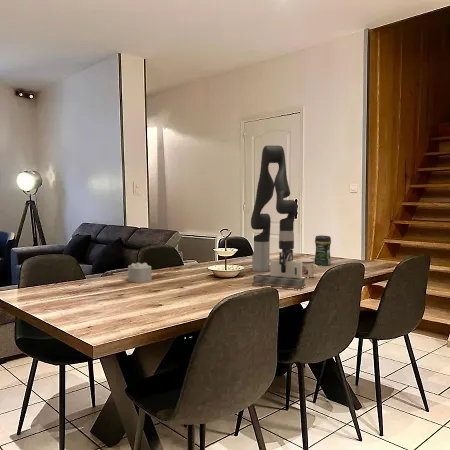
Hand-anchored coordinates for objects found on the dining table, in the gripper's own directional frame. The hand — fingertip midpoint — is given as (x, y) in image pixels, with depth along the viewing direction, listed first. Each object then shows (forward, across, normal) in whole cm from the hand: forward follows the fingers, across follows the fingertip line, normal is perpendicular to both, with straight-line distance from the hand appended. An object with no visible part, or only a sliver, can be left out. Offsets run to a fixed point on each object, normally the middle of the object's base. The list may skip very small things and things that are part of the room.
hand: (286, 271), depth 227 cm
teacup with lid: (+6, -18, +6) cm, 20 cm away
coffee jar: (+6, -61, +3) cm, 61 cm away
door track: (+6, +11, 0) cm, 12 cm away
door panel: (+6, 0, 0) cm, 6 cm away
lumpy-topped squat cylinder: (+6, +27, -72) cm, 77 cm away
